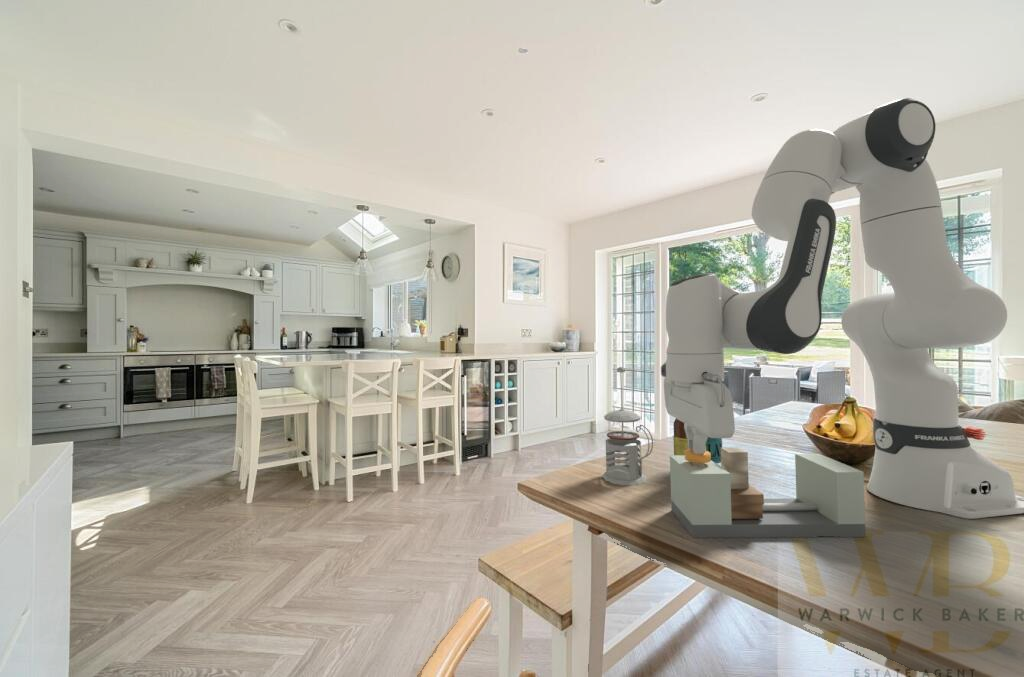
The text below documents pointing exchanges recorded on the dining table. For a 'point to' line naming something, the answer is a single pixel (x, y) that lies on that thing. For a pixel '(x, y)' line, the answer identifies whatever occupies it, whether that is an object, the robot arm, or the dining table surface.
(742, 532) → the rail bench
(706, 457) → the button
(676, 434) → the sauce bottle
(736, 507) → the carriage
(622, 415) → the french press
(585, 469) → the dining table surface
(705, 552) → the dining table surface
